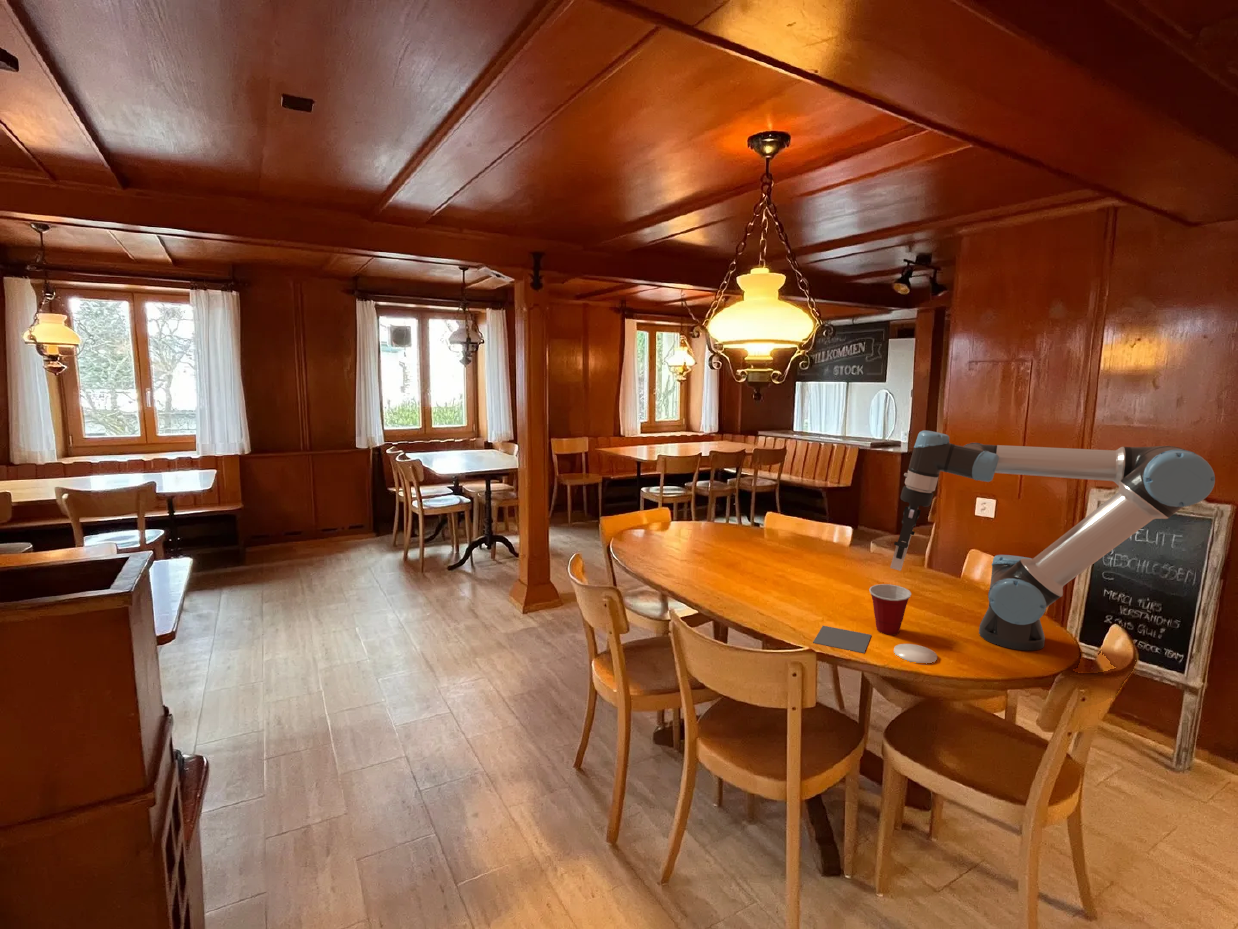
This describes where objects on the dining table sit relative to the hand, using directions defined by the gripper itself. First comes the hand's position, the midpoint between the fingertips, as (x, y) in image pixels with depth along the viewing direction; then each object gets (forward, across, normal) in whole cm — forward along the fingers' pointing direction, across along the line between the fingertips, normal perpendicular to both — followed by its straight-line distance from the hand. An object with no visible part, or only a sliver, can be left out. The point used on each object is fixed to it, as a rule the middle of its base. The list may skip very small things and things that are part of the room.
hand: (897, 562), depth 170 cm
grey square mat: (+23, +11, -8) cm, 26 cm away
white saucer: (+19, +12, +10) cm, 25 cm away
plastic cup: (+21, -1, +2) cm, 21 cm away
